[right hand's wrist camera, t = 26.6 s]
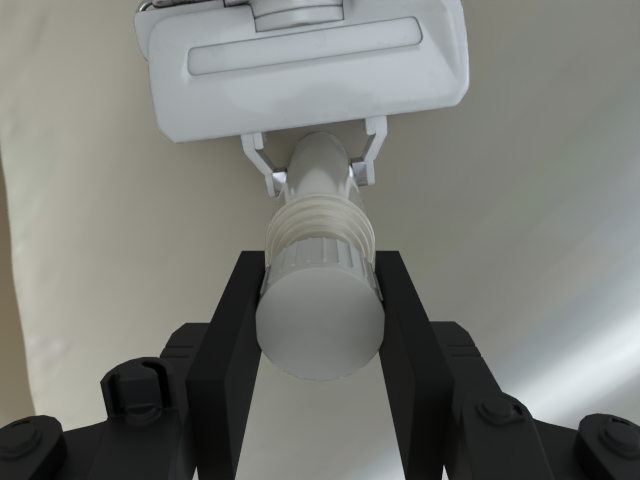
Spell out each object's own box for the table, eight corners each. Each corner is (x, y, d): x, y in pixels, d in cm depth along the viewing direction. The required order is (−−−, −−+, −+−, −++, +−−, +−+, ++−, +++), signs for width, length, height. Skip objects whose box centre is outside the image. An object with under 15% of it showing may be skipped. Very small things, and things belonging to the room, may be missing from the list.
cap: (242, 261, 14) (228, 295, 12) (352, 216, 14) (358, 244, 12) (291, 352, 16) (286, 398, 13) (393, 315, 15) (406, 356, 13)
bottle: (292, 131, 36) (240, 239, 12) (348, 132, 36) (402, 242, 12) (292, 185, 38) (247, 373, 14) (346, 186, 38) (389, 375, 14)
